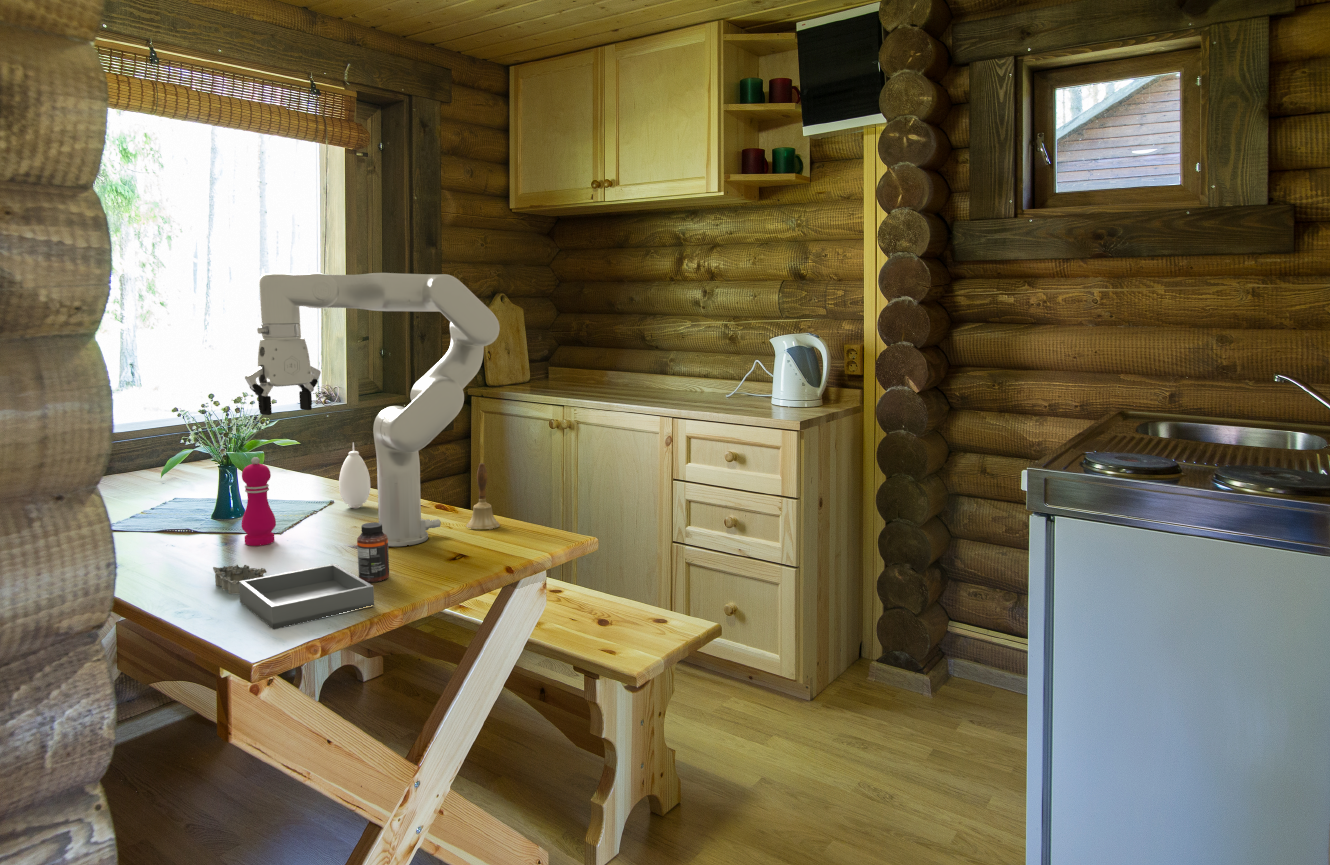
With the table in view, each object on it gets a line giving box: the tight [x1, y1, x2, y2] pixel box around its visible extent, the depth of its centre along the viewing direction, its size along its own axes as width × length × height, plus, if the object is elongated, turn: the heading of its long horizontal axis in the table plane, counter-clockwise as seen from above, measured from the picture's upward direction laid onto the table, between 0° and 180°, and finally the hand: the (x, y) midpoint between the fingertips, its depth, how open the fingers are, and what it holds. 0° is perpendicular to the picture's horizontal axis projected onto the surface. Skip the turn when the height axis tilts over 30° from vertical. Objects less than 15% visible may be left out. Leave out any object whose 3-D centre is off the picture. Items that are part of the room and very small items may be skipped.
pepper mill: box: [241, 456, 277, 547], centre depth 205 cm, size 7×7×20 cm
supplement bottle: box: [356, 521, 390, 583], centre depth 180 cm, size 6×6×11 cm
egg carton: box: [212, 564, 267, 595], centre depth 175 cm, size 11×8×4 cm
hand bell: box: [465, 462, 501, 530], centre depth 223 cm, size 8×8×16 cm
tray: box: [239, 563, 375, 630], centre depth 165 cm, size 18×18×4 cm
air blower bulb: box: [338, 441, 371, 509], centre depth 240 cm, size 8×8×18 cm
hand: (286, 412), depth 192 cm, fingers open, 9 cm apart
